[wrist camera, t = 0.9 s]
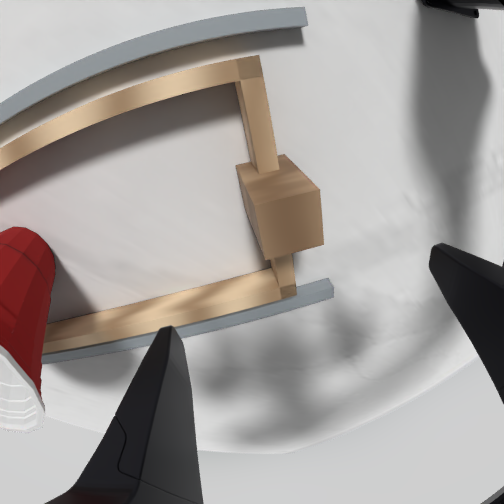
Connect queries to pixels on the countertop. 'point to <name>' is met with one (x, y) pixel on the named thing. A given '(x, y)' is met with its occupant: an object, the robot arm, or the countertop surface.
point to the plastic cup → (23, 326)
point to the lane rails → (139, 50)
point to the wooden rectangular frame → (253, 192)
